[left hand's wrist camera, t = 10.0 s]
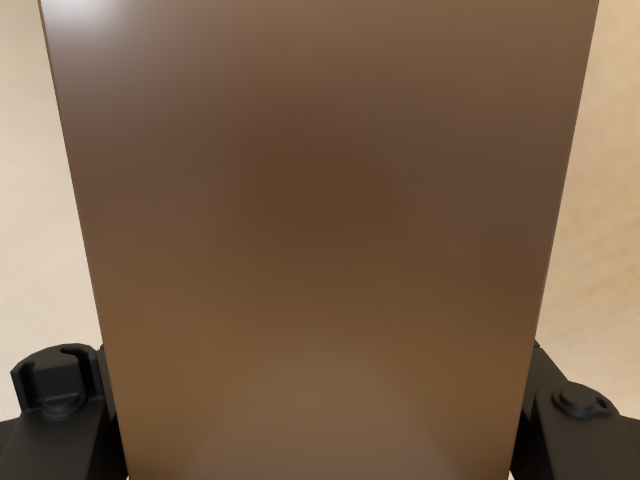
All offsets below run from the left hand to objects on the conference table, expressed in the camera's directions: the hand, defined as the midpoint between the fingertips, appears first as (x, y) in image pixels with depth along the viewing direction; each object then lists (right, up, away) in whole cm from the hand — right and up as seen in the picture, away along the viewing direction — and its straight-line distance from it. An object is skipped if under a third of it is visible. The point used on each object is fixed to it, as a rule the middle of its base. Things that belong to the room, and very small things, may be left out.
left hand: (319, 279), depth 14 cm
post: (0, +31, -10) cm, 33 cm away
